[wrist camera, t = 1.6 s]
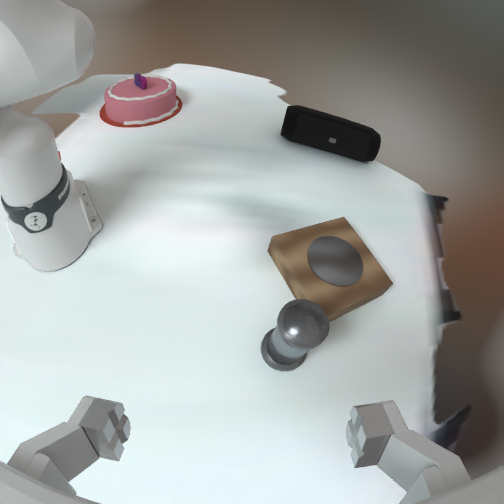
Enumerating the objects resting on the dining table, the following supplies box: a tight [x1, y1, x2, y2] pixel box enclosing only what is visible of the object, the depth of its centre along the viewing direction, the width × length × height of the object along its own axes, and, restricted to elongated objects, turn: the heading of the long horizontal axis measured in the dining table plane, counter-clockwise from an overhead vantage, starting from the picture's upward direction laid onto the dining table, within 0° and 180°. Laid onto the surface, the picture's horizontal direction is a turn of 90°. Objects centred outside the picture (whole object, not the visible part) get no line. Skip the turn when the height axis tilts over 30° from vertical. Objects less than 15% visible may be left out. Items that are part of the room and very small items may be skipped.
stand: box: [268, 217, 393, 322], centre depth 52 cm, size 16×16×4 cm
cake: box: [100, 73, 182, 127], centre depth 75 cm, size 25×25×11 cm
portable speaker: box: [281, 105, 381, 162], centre depth 75 cm, size 26×10×10 cm, turn 81°
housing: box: [261, 299, 329, 371], centre depth 40 cm, size 7×7×10 cm
